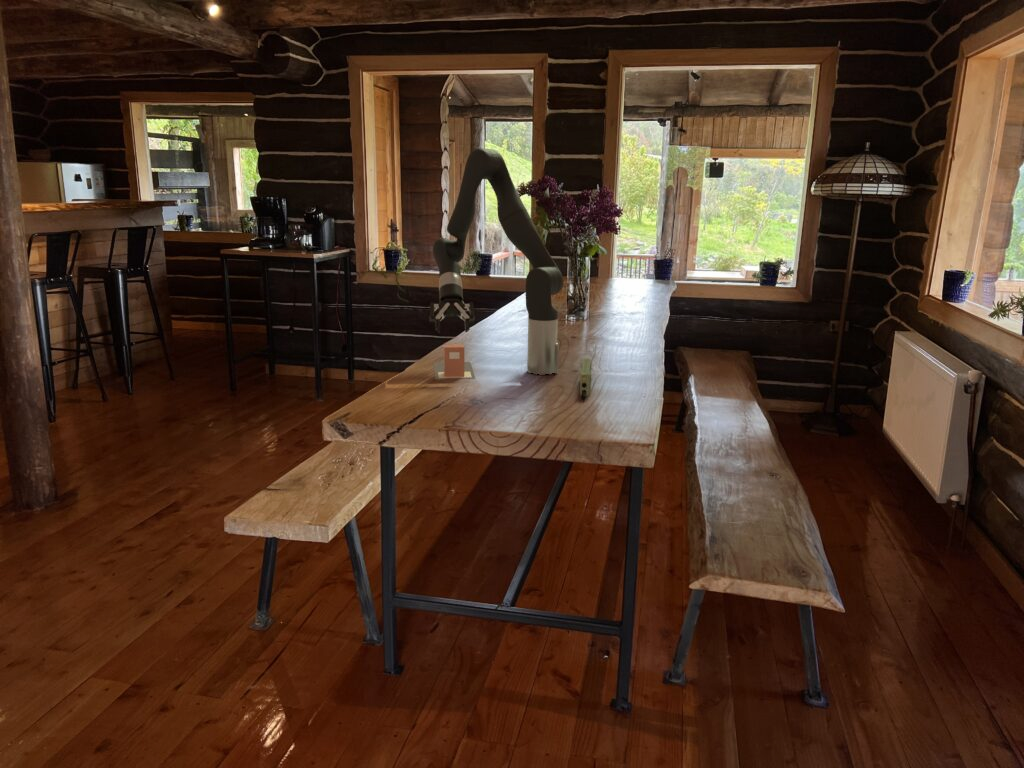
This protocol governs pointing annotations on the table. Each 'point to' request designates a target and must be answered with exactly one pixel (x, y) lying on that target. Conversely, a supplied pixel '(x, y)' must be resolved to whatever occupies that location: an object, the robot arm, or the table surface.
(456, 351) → the block
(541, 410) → the table surface
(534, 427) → the table surface
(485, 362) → the table surface
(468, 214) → the robot arm
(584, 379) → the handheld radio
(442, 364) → the pin board
